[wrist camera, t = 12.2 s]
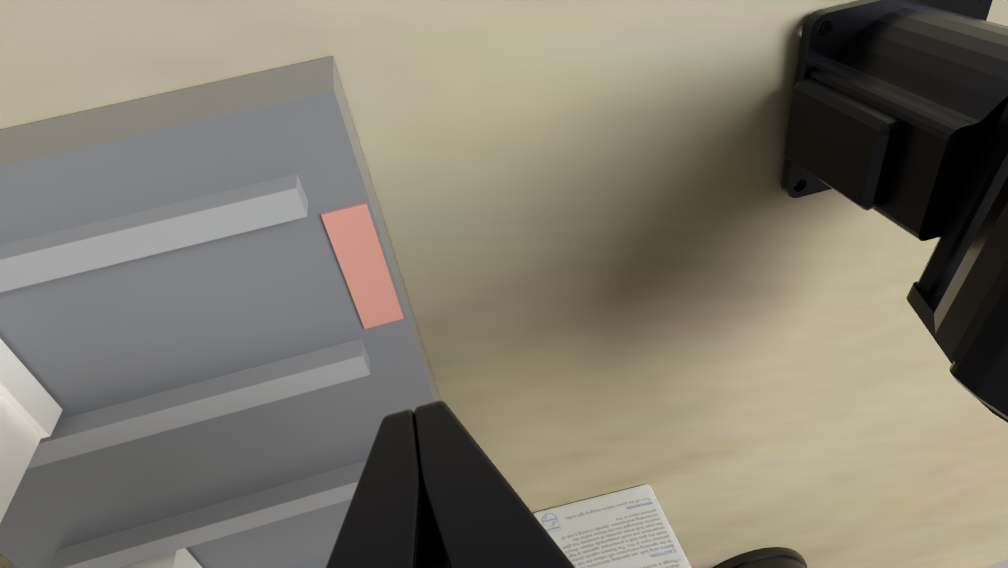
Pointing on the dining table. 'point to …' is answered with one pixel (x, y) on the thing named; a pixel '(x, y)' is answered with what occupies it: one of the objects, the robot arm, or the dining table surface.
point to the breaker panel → (201, 323)
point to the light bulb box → (615, 531)
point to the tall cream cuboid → (168, 561)
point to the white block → (20, 422)
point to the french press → (767, 559)
